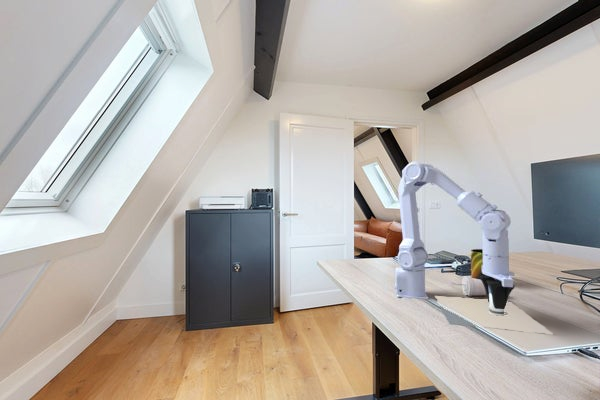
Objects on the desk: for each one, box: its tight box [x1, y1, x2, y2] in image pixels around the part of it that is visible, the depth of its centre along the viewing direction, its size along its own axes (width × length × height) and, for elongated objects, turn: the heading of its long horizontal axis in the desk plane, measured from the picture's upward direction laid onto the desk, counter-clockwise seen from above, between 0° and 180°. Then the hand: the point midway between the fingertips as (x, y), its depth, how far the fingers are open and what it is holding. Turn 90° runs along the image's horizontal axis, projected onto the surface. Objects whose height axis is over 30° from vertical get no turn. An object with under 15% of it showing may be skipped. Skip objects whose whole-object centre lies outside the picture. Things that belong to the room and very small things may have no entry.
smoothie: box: [451, 275, 487, 297], centre depth 87 cm, size 6×6×14 cm
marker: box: [489, 288, 504, 316], centre depth 71 cm, size 3×3×8 cm
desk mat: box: [438, 299, 514, 328], centre depth 75 cm, size 22×22×1 cm
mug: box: [470, 248, 485, 280], centre depth 103 cm, size 10×14×12 cm
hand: (496, 305), depth 71 cm, fingers closed on marker, 3 cm apart
